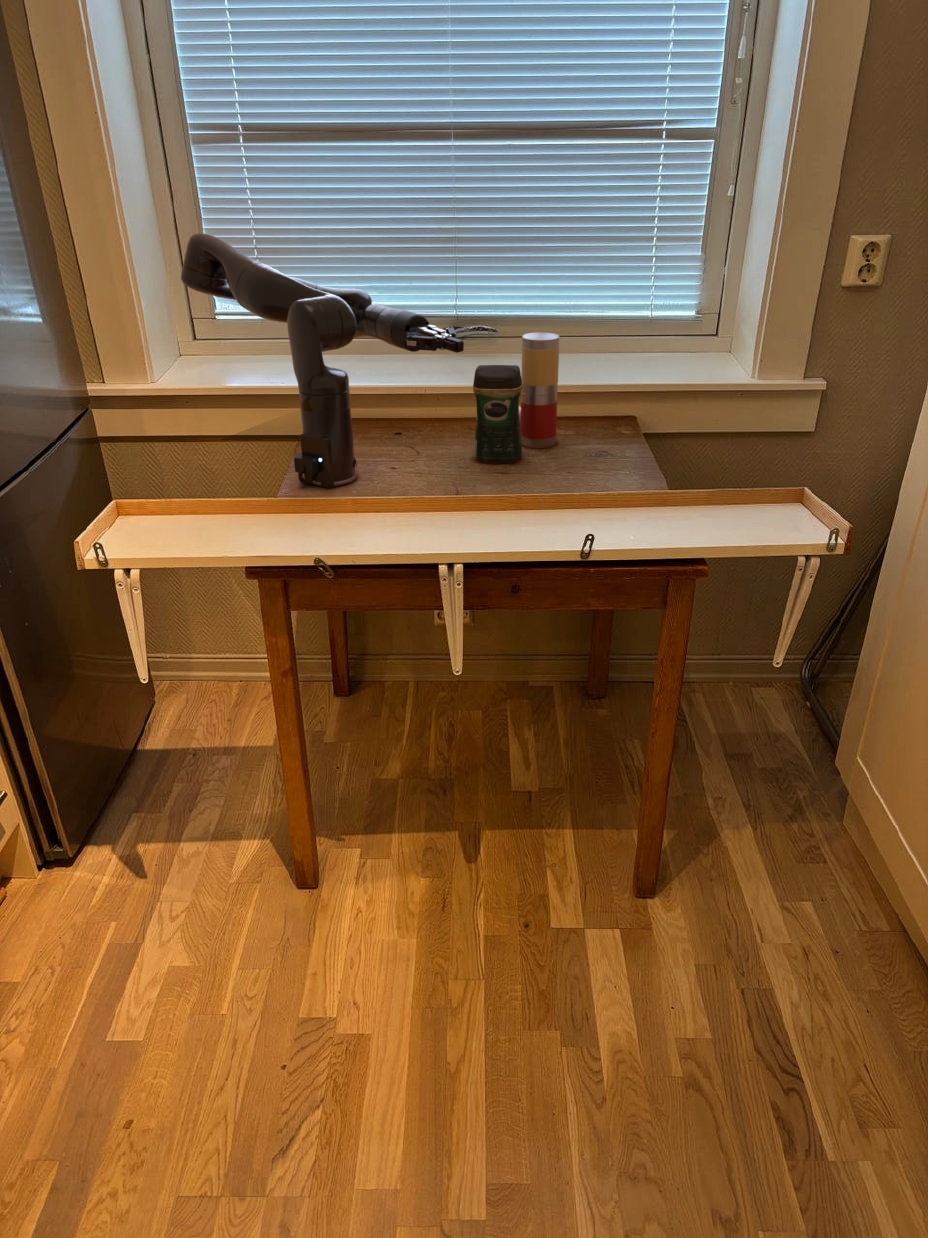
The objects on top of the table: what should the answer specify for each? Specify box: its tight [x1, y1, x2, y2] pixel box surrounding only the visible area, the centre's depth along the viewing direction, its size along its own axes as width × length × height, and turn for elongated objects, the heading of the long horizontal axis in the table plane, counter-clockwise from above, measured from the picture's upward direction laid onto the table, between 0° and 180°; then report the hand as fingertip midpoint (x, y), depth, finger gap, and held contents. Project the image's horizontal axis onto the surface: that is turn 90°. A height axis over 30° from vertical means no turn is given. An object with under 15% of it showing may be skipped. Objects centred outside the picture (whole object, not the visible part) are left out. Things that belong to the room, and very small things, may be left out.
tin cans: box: [519, 331, 560, 449], centre depth 187 cm, size 8×8×22 cm
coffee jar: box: [472, 364, 523, 464], centre depth 180 cm, size 10×8×19 cm
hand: (460, 346), depth 179 cm, fingers closed
